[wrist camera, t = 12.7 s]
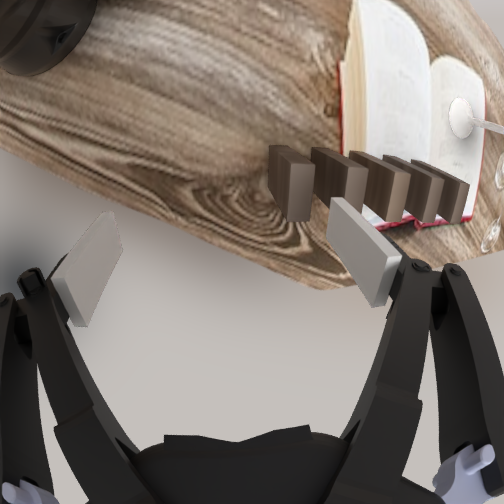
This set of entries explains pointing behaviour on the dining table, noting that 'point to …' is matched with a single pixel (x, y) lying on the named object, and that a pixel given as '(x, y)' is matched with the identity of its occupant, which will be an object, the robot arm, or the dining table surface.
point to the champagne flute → (467, 119)
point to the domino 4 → (420, 190)
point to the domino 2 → (338, 178)
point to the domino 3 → (383, 186)
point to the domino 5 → (448, 193)
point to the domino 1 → (291, 182)
